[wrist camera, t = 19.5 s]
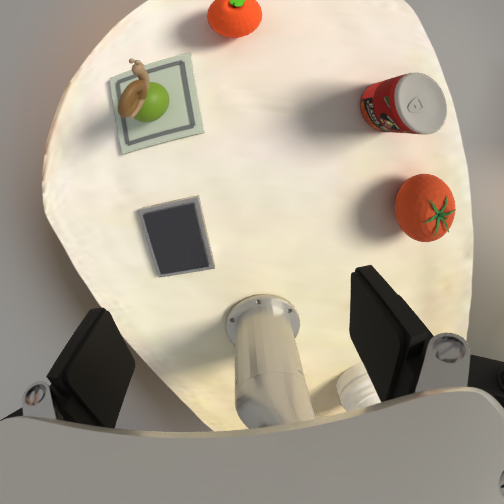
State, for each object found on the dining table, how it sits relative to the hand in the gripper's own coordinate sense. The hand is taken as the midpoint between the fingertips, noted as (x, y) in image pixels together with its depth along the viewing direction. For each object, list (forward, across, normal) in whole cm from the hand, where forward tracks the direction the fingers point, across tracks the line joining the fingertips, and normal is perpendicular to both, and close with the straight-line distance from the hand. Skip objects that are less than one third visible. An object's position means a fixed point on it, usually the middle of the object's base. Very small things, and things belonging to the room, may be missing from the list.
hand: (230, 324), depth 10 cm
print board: (+30, +9, -14) cm, 35 cm away
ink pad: (+30, +10, +6) cm, 32 cm away
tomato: (+31, -27, +6) cm, 41 cm away
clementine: (+31, -4, -24) cm, 39 cm away
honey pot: (+31, -20, +46) cm, 59 cm away
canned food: (+31, -23, -9) cm, 39 cm away
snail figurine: (+30, +9, -14) cm, 34 cm away
